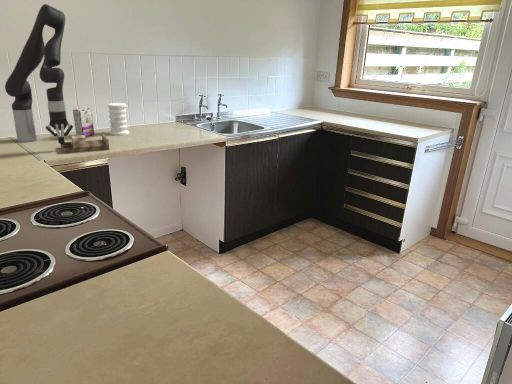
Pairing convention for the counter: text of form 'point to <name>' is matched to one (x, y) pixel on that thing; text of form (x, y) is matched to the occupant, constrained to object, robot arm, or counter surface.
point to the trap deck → (86, 146)
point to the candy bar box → (83, 122)
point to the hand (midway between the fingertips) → (61, 144)
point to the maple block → (79, 140)
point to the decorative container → (118, 119)
